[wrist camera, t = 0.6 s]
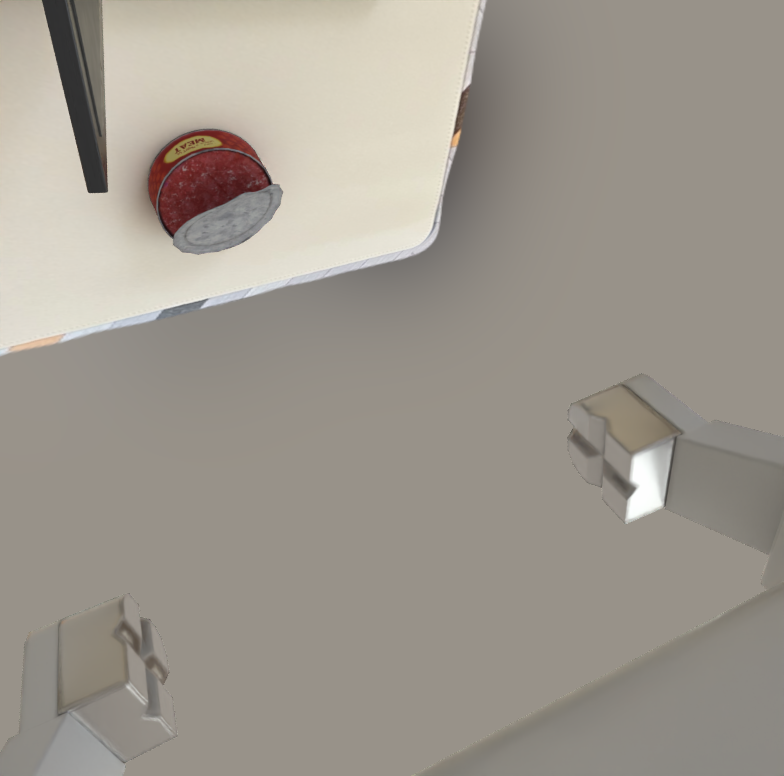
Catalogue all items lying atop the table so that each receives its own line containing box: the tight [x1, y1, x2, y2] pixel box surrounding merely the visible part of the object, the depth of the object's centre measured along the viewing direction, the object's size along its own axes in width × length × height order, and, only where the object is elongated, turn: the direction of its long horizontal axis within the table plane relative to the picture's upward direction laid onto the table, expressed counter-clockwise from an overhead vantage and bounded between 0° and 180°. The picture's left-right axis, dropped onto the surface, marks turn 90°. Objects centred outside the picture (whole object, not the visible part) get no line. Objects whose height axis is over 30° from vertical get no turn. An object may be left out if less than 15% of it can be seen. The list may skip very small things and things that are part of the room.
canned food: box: [148, 129, 283, 255], centre depth 54 cm, size 11×10×10 cm
